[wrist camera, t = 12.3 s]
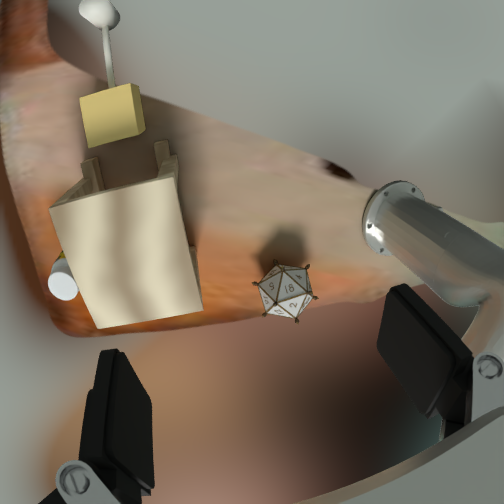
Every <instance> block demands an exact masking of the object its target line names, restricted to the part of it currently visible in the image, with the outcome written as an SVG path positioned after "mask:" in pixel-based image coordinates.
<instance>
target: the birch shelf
mask: <svg viewBox="0 0 504 504" xmlns="http://www.w3.org/2000/svg"><path fill="white" fill-rule="evenodd" d="M154 150H155V156H156V161H157V166H158V171H159V173H158V176H157V178H154V179H150V180H145V181H141V182H137V183H132V184H128V185H124V186H120V187H116V188H112V189H108V190H105V187H104V183H103V179H102V175H101V171H100V166H99V162H98V157H94V158H91V159H87V160H85V161H84V162H82V163H81V168H82V173H83V177H84V178H82V179H81V180H80V181H79V182H78V183H77V184H75V185H74V186H73V187H72V188H71V189H70V190H69V191H67V192H66V193H65V194H64V195H63V196H62V197H61V198H60V199H59V200H57V201H56V202H55V203H54V204H53V205H52V206H51V207H50V208H49V212H50V215H51V218H52V221H53V224H54V227H55V230H56V233H57V236H58V238H59V241H60V244H61V246H62V249H63V252H64V254H65V257H66V259H67V262H68V264H69V267H70V269H71V272H72V274H73V276H74V279H75V281H76V283H77V286H78V288H79V290H80V292H81V295H82V297H83V299H84V301H85V303H86V306H87V308H88V310H89V312H90V314H91V316H92V318H93V320H94V322H95V324H96V326H97V328H98V329H100V328H107V327H113V326H119V325H125V324H131V323H137V322H143V321H149V320H154V319H160V318H166V317H171V316H176V315H182V314H187V313H192V312H197V311H203V302H202V295H201V287H200V278H199V270H198V261H197V254H196V249H195V246H192V247H189V244H188V239H187V235H186V230H185V225H184V221H183V216H182V211H181V207H180V202H179V197H178V192H177V182H178V169H179V164H178V159H177V154H174V155H170V149H169V144H168V139H167V140H162V141H158V142H155V143H154Z"/></svg>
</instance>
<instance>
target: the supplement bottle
mask: <svg viewBox="0 0 504 504" xmlns="http://www.w3.org/2000/svg"><path fill="white" fill-rule="evenodd" d="M48 286H49V289H50V291H51V292H52V293H53V295H55V296H56V297H57V298H59V299H62V300H71V299H73V298H74V297H75V296H76V295H77V293H78V291H79V288H78V286H77V283H76V281H75V279H74V276H73V274H72V272H71V269H70V267H69V264H68V262H67V259H66V257H65V254H64V252H63V250H62V252H61V253H60V255H59V257H58V258H57V259H56V261H55V263H54V264H53V267H52V272H51V275H50V276H49V279H48Z"/></svg>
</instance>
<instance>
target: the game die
mask: <svg viewBox="0 0 504 504" xmlns="http://www.w3.org/2000/svg"><path fill="white" fill-rule="evenodd" d="M277 263H278V262H277V260H275V259H274V264H275V266H274V267H273V268H272V269H271V270H270V271H269V272H268V274H267V275H266V276H265V277H264V278H263V279H262V280H261V281H260V282H259V283H257V282H255V281H254V282H252V284H253V285H255V286H256V285H257V286H258V288H259V292H260V295H261V298H262V302H263V305H264V308H265V313H263V314H262V317H265V316H266V315H267V314H272V315H278V316H283V317H288V318H294V319H295V323H297V324H298V323H299V320H298V319H297V317H298V316H299V315H300V314H301V312H302V311H303V310H304V309H305V307H306V306H307V305H308V304H309V302H310V301H311V300H312V299H315V300H316V299H319V298H318V297H317V296H313V292H312V289H311V285H310V281H309V277H308V273H307V269H309V267H310V264H308V265H307V266H306V267H305V268H300V267H293V266H286V265H279V264H277Z"/></svg>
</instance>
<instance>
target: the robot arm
mask: <svg viewBox="0 0 504 504" xmlns="http://www.w3.org/2000/svg"><path fill="white" fill-rule="evenodd" d="M362 228H363V235H364V239H365V241H366V243H367V245H368V246H369V247H370V248H371V249H372V250H373V251H375V252H376V253H378V254H380V255H385V256H390V255H394V256H395V257H396V258H397V259H399V260H400V261H401V262H402V263H403V264H404V265H405V266H407V267H408V268H409V269H410V270H411V271H412V272H413V273H414V274H416V275H417V276H418V277H419V278H420V279H421V280H422V281H423V282H424V283H425V284H426V285H428V286H429V287H430V288H431V289H432V290H433V291H434V292H435V293H436V294H437V295H438V296H440V297H441V299H443V300H444V301H445V302H446V303H448V304H450V305H453V306H457V307H469V306H476V305H479V310H478V313H477V314H476V316H475V318H474V320H473V322H472V324H471V325H470V327H469V328H468V330H467V331H466V333H465V334H464V336H463V338H462V339H460V338H459V337H458V336H457V335H456V334H455V333H454V332H453V331H452V330H451V328H450V327H449V326H448V325H447V324H446V323H445V322H444V321H443V320H442V319H441V318H440V317H439V316H438V315H437V314H436V313H435V312H434V311H433V310H432V309H431V308H430V307H429V306H428V305H427V304H426V303H425V302H424V301H423V300H422V299H421V298H420V297H419V296H418V295H417V294H416V293H415V292H414V291H413V290H412V289H411V288H410V287H409V286H408V285H407V284H401V285H397V286H394V287H391V288H390V290H389V292H388V293H387V295H386V300H385V305H384V311H383V316H382V322H381V326H380V331H379V335H378V340H377V349H378V351H379V353H380V355H381V356H382V357H383V359H384V360H385V362H386V363H387V365H388V366H389V367H390V369H391V370H392V372H393V373H394V375H395V376H396V378H397V379H398V381H399V382H400V384H401V385H402V387H403V388H404V390H405V391H406V393H407V394H408V396H409V397H410V399H411V400H412V402H413V403H414V405H415V406H416V408H417V409H418V411H419V412H420V413H421V414H425V416H426V417H427V419H429V418H431V417H433V416H435V415H437V414H438V413H440V415H441V416H442V424H441V430H440V436H439V442H438V443H437V444H435V445H433V446H431V447H430V448H428V449H426V450H425V451H423V452H421V453H419V454H417V455H415V456H413V457H411V458H409V459H408V460H406V461H404V462H402V463H400V464H398V465H395V466H393V467H391V468H389V469H387V470H385V471H383V472H380V473H378V474H376V475H374V476H371V477H369V478H367V479H364V480H362V481H359V482H357V483H354V484H352V485H349V486H347V487H344V488H341V489H338V490H336V491H333V492H330V493H327V494H324V495H321V496H318V497H314V498H311V499H308V500H304V501H301V502H297V503H294V504H504V249H502V248H501V247H499V246H497V245H496V244H494V243H493V242H491V241H489V240H488V239H486V238H485V237H483V236H482V235H480V234H478V233H477V232H475V231H474V230H472V229H471V228H469V227H467V226H466V225H464V224H462V223H461V222H459V221H458V220H456V219H454V218H453V217H451V216H449V215H448V214H446V213H444V212H443V209H442V207H434V206H432V205H430V204H428V203H427V202H425V199H424V196H423V194H422V192H421V191H420V190H419V189H418V188H417V187H416V186H415V185H413V184H411V183H409V182H407V181H401V180H400V181H394V182H391V183H388V184H386V185H385V186H383V187H382V188H381V189H379V190H378V191H377V192H376V193H375V195H374V196H373V197H372V198H371V200H370V202H369V203H368V205H367V208H366V210H365V213H364V217H363V225H362ZM55 481H56V487H57V488H56V489H55V490H54V491H53V492H52V493H50V494H49V495H48V496H47V497H46V498H44V499H43V500H42V501H41V502H40V503H38V504H142V499H141V496H151V489H153V488H154V486H155V481H154V465H153V439H152V403H151V399H150V397H149V395H148V394H147V392H146V390H145V389H144V387H143V386H142V384H141V382H140V380H139V378H138V377H137V375H136V373H135V372H134V370H133V368H132V366H131V364H130V362H129V361H128V359H127V357H126V355H125V353H124V352H119V350H118V349H110V350H103V351H101V352H100V355H99V360H98V365H97V370H96V375H95V381H94V386H93V389H91V390H90V391H89V392H88V395H87V400H86V406H85V412H84V419H83V426H82V434H81V442H80V451H79V460H72V461H68V462H66V463H64V464H63V465H62V466H61V467H60V468H59V470H58V472H57V474H56V479H55Z"/></svg>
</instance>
